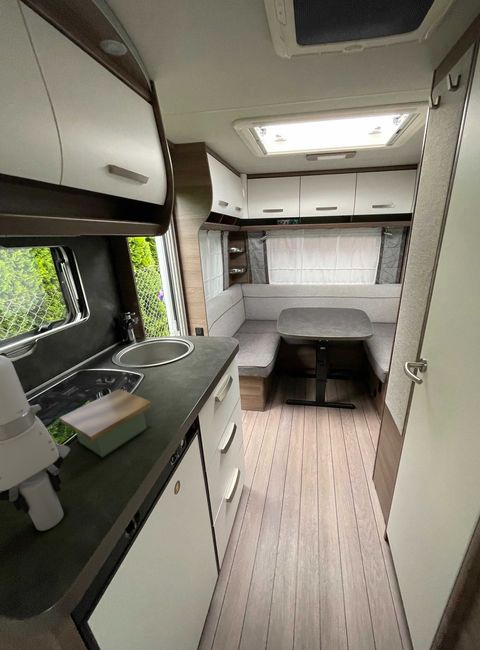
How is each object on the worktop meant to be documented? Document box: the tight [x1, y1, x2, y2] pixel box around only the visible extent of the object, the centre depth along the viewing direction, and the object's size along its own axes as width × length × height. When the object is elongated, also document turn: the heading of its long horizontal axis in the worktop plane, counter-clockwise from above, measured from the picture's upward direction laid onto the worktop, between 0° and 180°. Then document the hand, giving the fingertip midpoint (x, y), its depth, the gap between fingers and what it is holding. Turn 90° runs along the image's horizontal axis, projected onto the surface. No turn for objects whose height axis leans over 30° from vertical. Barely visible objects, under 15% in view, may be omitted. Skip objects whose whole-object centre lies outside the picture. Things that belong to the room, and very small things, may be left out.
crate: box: [75, 411, 148, 458], centre depth 82 cm, size 12×14×8 cm
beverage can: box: [18, 469, 64, 532], centre depth 56 cm, size 5×5×12 cm
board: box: [58, 388, 153, 441], centre depth 80 cm, size 16×18×2 cm
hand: (40, 497), depth 56 cm, fingers closed on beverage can, 4 cm apart
